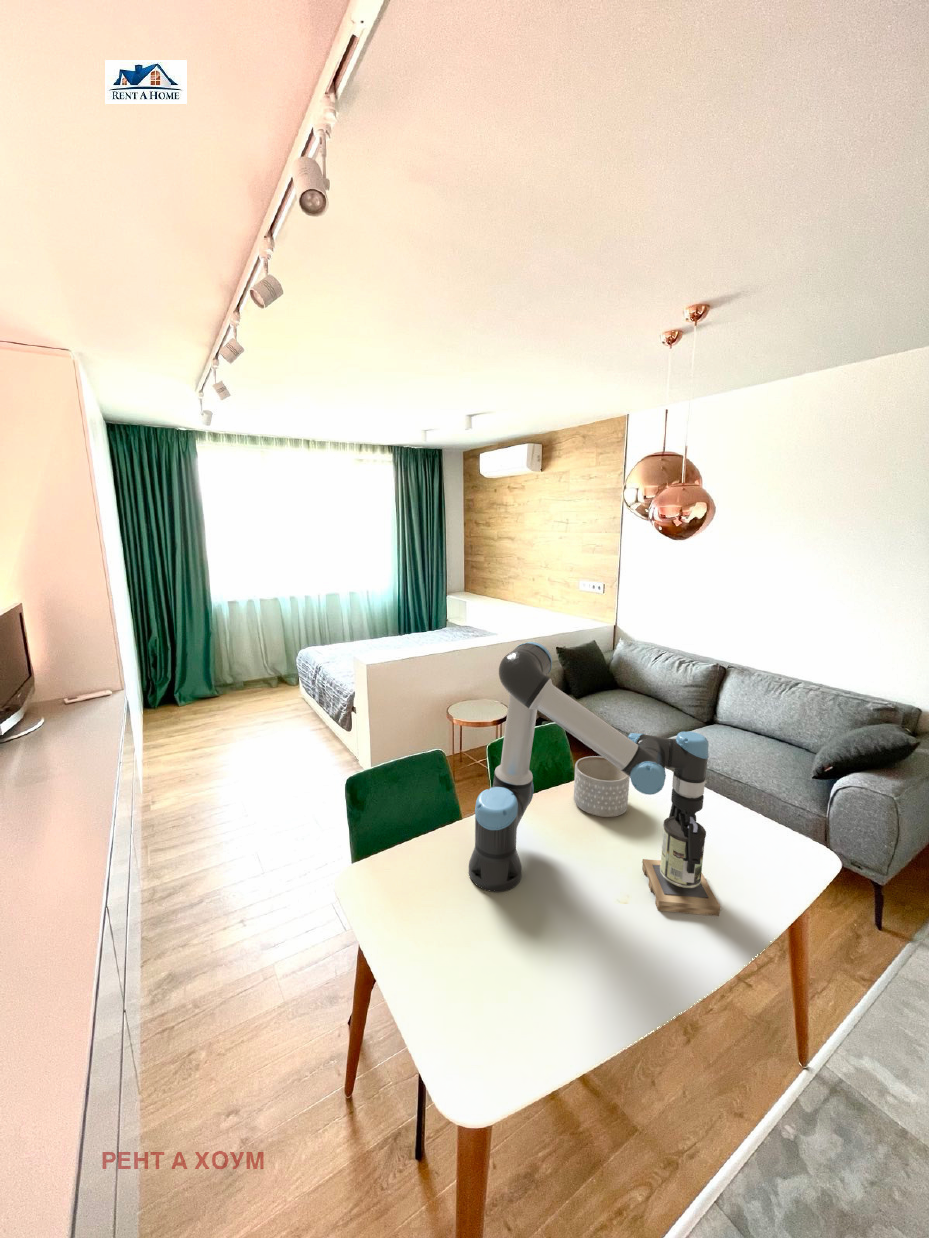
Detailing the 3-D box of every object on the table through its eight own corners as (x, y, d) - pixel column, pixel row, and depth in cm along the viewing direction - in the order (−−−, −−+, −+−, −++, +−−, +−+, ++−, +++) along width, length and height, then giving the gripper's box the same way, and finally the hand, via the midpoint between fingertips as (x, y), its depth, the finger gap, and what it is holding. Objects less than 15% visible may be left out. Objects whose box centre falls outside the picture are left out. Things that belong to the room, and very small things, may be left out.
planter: (593, 786, 181) (595, 751, 178) (637, 807, 167) (640, 770, 164) (562, 802, 169) (564, 766, 167) (607, 827, 155) (610, 787, 152)
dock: (658, 911, 120) (659, 899, 120) (641, 868, 136) (642, 857, 135) (719, 916, 118) (720, 905, 118) (695, 872, 134) (696, 862, 134)
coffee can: (695, 864, 130) (699, 818, 128) (706, 891, 120) (711, 841, 118) (655, 858, 132) (659, 813, 130) (663, 885, 122) (668, 836, 120)
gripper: (721, 817, 111) (712, 899, 114) (687, 770, 133) (680, 841, 137) (688, 815, 111) (680, 897, 115) (660, 769, 134) (654, 839, 137)
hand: (680, 866), depth 126 cm, fingers closed on coffee can, 10 cm apart
